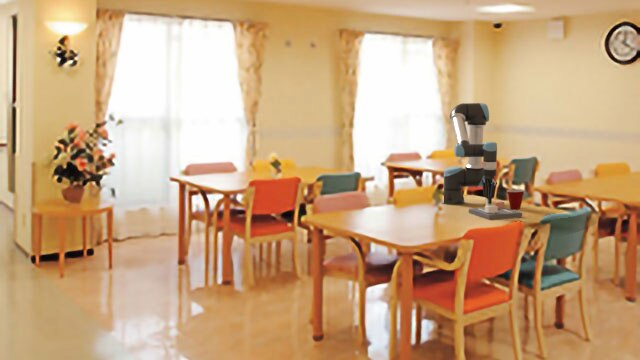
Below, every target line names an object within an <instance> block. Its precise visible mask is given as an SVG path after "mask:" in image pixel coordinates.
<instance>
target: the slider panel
mask: <svg viewBox="0 0 640 360" xmlns="http://www.w3.org/2000/svg"><path fill="white" fill-rule="evenodd" d="M468 214H471V215H474V216H477V217H480V218H483V219H486V220H500V219H501V220H502V219H503V220H504V219H514V217H516V218H522V217H523V212H522V211H519V210H512V209H510V208H508V207H504V208H498V212H496V213H487V212H485V207H477V208H476V207H475V208H468Z"/></svg>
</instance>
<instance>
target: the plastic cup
mask: <svg viewBox="0 0 640 360" xmlns="http://www.w3.org/2000/svg"><path fill="white" fill-rule="evenodd" d="M524 192H525V189H508V190H506V193H507V197H508V198H507V199H508V204H509V209H511V210H515V211H519V210H521V207H522V202H523V197H524Z"/></svg>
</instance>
